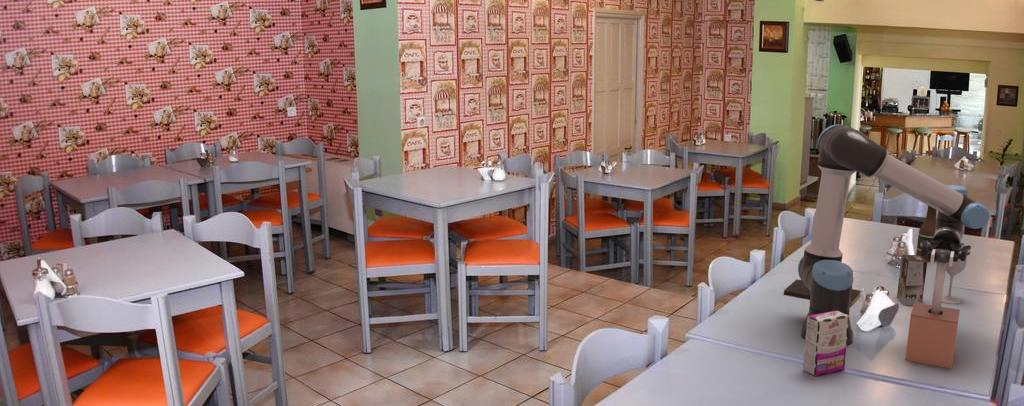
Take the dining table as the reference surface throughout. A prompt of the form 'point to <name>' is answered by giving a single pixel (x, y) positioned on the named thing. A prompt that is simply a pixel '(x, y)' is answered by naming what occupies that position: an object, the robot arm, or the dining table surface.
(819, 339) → the candy bar box
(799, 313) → the dining table surface
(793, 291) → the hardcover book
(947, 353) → the slotted cardboard box
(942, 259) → the pump plunger
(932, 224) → the beer bottle
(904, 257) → the coffee box
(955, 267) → the wineglass
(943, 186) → the robot arm
